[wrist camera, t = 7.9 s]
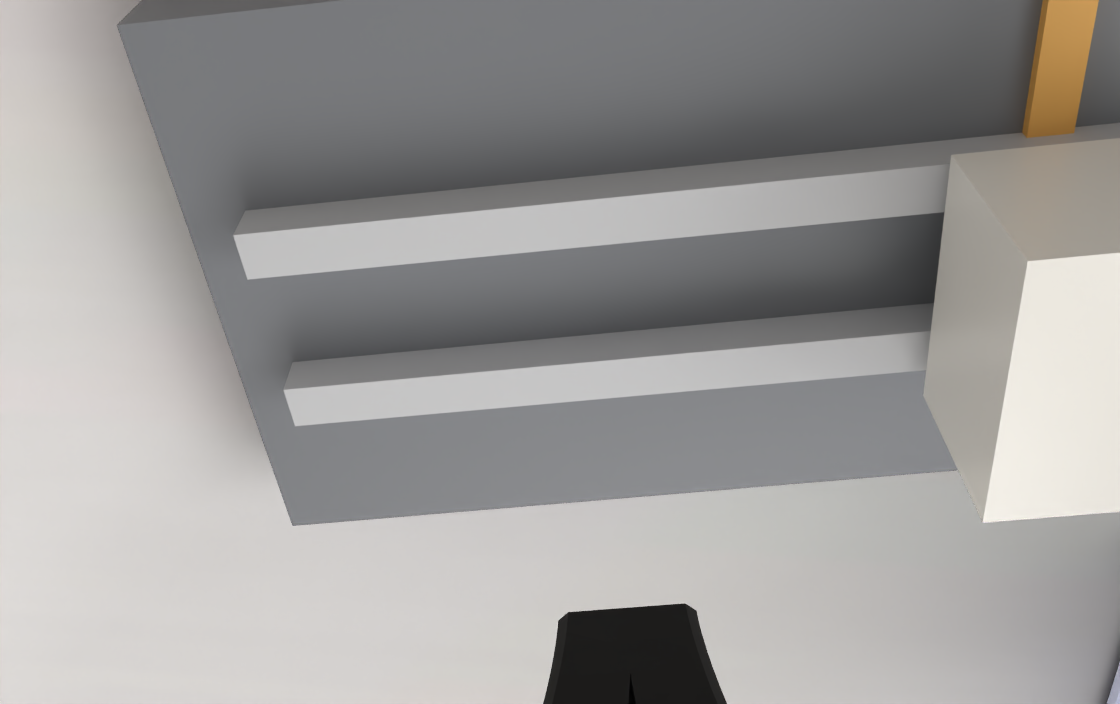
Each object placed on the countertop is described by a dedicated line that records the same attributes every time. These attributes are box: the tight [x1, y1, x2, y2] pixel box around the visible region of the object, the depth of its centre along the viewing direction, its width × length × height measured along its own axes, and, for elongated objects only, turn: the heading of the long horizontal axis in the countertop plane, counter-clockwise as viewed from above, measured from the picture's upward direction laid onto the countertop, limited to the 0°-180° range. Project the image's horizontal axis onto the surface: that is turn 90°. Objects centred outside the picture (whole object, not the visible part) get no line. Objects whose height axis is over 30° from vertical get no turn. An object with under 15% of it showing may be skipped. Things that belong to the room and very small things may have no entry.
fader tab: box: [923, 138, 1120, 523], centre depth 16 cm, size 4×4×4 cm
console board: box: [117, 0, 1120, 526], centre depth 18 cm, size 10×19×2 cm, turn 96°
